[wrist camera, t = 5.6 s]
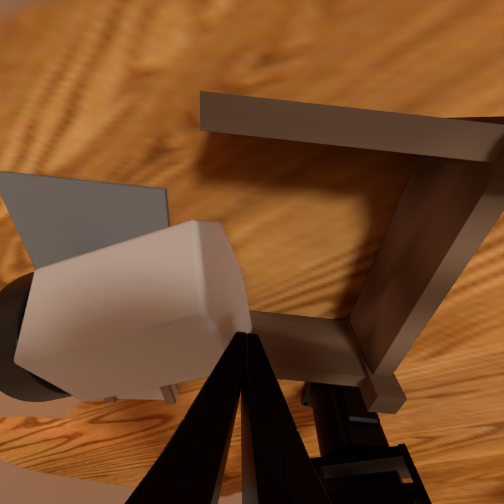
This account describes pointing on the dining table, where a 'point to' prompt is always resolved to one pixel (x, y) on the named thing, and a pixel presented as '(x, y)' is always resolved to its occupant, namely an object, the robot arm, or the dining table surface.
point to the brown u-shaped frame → (395, 239)
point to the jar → (123, 316)
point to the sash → (151, 394)
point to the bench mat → (78, 214)
